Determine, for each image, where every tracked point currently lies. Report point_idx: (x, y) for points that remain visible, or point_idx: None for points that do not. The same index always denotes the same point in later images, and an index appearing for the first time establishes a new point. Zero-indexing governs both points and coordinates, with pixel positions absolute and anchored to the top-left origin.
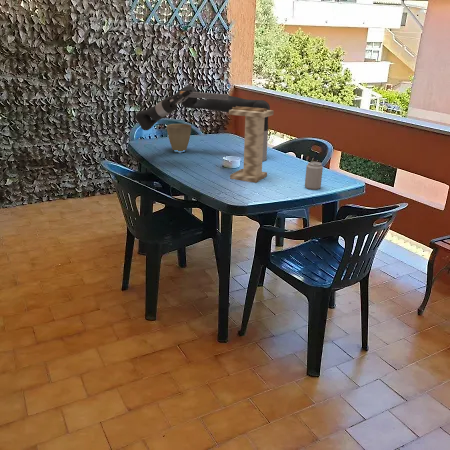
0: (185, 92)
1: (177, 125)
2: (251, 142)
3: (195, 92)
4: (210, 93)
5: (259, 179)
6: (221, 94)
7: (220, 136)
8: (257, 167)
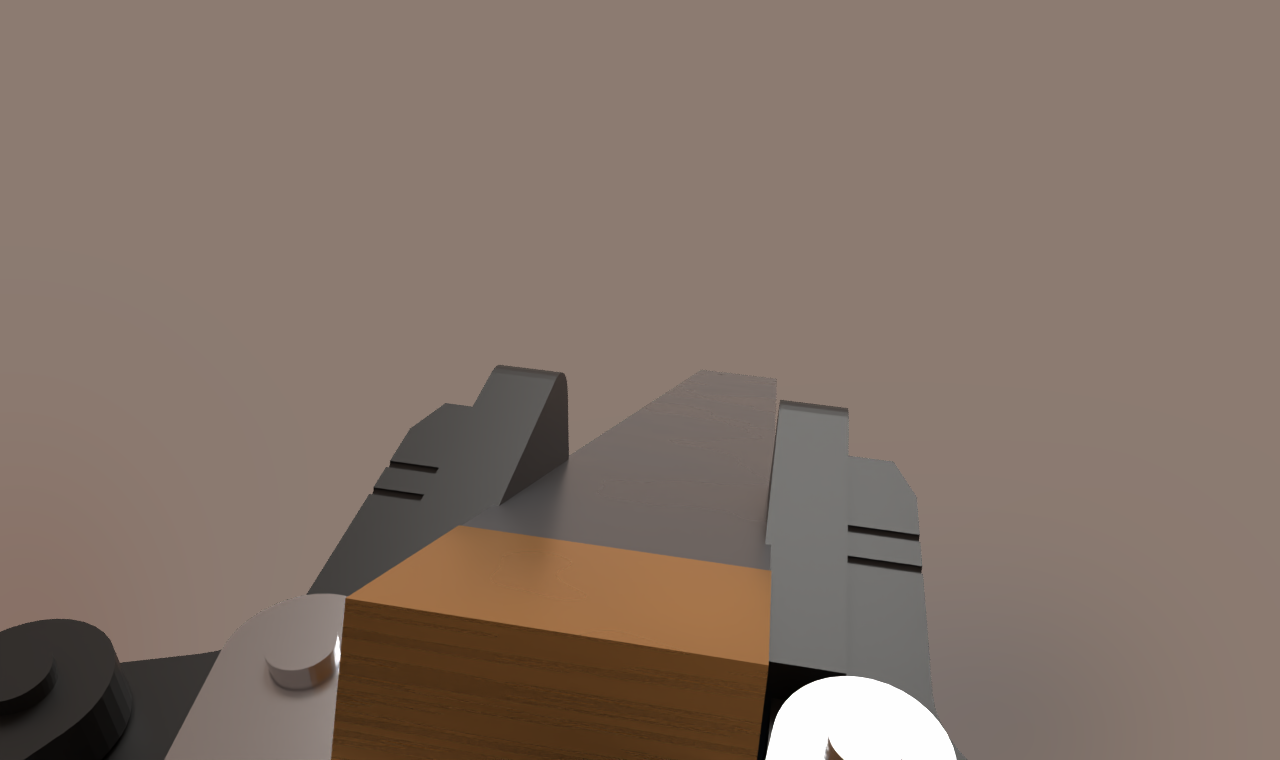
0: (910, 550)
1: None
2: None
3: (719, 446)
4: (716, 396)
5: None
6: (756, 382)
7: None
8: None
